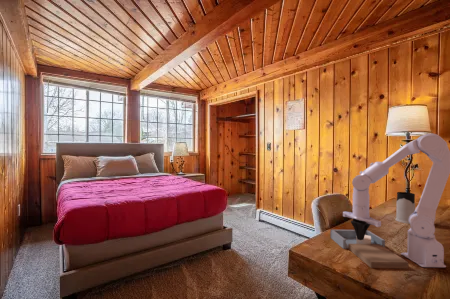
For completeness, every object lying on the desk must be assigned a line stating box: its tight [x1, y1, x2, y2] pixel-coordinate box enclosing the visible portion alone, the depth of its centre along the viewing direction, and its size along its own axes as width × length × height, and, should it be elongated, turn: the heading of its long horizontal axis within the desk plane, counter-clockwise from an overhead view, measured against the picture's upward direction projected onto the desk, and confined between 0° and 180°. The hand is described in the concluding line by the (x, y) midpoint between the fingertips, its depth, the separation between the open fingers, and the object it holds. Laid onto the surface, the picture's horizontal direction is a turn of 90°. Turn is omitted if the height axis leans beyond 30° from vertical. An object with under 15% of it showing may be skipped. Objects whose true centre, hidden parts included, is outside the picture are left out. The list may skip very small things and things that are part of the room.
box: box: [330, 229, 386, 250], centre depth 94 cm, size 11×16×4 cm
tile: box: [356, 235, 371, 244], centre depth 93 cm, size 5×5×2 cm
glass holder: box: [394, 191, 416, 225], centre depth 125 cm, size 9×14×15 cm, turn 132°
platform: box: [348, 244, 409, 269], centre depth 82 cm, size 14×12×2 cm
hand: (360, 239), depth 91 cm, fingers closed
